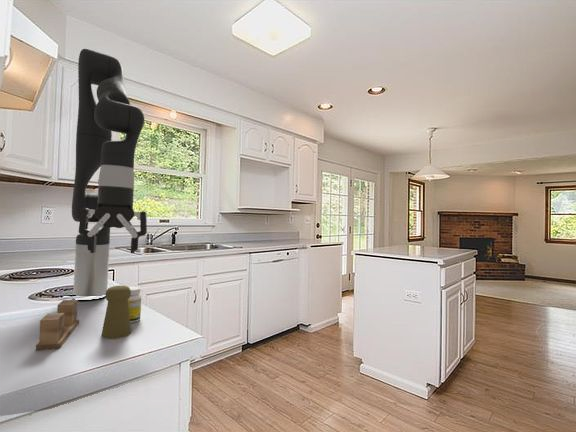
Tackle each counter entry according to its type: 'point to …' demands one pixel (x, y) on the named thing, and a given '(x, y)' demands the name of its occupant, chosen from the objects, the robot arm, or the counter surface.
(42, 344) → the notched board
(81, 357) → the counter surface
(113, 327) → the brown tapered upright piece
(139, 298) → the supplement bottle
